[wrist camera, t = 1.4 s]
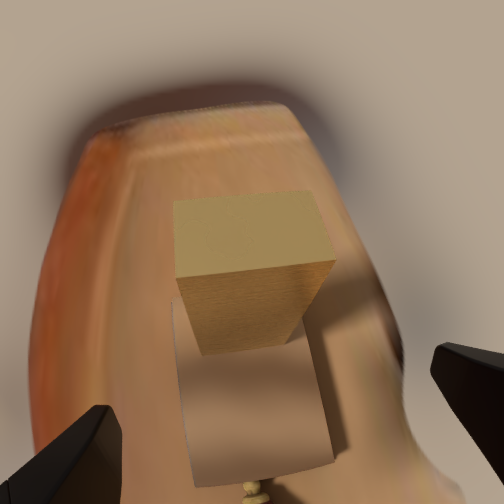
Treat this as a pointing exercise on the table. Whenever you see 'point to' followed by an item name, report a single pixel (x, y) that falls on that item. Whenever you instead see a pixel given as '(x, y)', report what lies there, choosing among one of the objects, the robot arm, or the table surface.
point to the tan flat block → (249, 408)
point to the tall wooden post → (249, 266)
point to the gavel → (255, 494)
